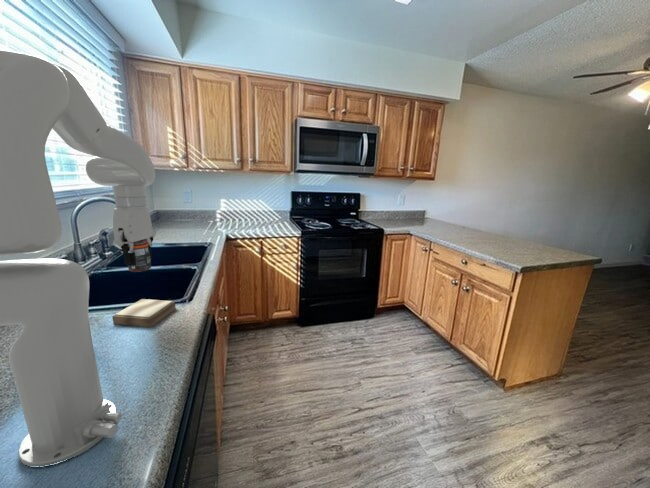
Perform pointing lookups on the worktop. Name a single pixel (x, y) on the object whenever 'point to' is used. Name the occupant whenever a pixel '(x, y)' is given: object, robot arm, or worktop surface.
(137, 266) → the supplement bottle
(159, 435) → the worktop surface
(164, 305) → the light wooden flat block
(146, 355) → the worktop surface
